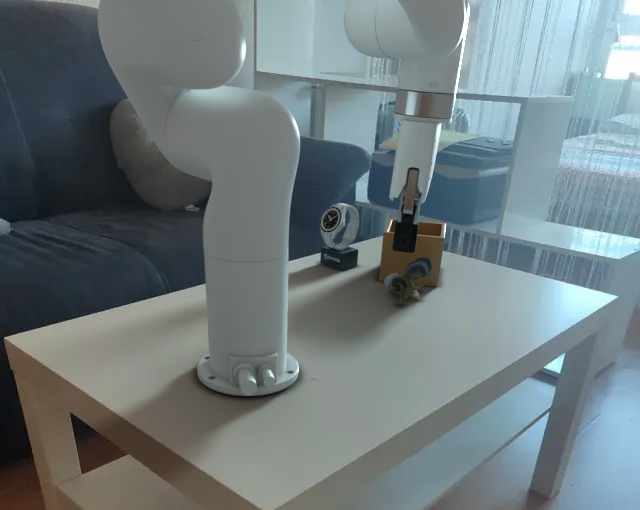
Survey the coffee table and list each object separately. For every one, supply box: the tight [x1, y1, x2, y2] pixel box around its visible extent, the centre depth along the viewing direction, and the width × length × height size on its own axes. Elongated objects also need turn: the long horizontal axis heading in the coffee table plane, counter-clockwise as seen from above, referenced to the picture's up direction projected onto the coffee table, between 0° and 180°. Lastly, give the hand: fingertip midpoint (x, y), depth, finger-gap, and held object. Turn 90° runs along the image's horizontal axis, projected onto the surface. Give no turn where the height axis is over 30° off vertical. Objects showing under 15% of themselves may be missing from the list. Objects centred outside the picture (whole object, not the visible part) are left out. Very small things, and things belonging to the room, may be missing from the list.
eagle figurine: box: [383, 257, 432, 306], centre depth 104 cm, size 8×7×9 cm
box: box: [378, 217, 447, 287], centre depth 114 cm, size 10×10×8 cm
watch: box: [319, 202, 360, 271], centre depth 116 cm, size 6×8×11 cm
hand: (403, 250), depth 90 cm, fingers closed
